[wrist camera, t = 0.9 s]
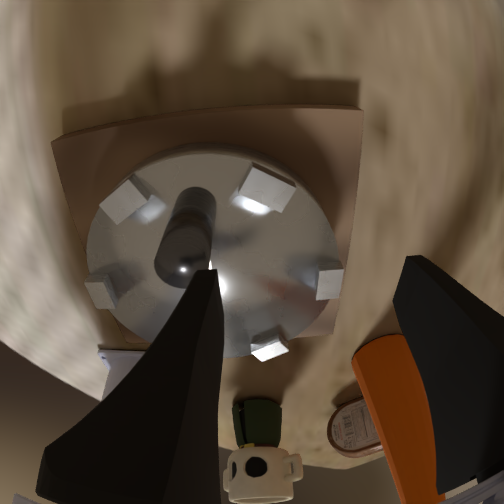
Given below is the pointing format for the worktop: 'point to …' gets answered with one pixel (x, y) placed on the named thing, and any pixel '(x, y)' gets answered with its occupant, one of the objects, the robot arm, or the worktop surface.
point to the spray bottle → (400, 416)
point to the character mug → (260, 457)
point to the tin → (353, 430)
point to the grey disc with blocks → (215, 245)
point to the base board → (233, 132)
